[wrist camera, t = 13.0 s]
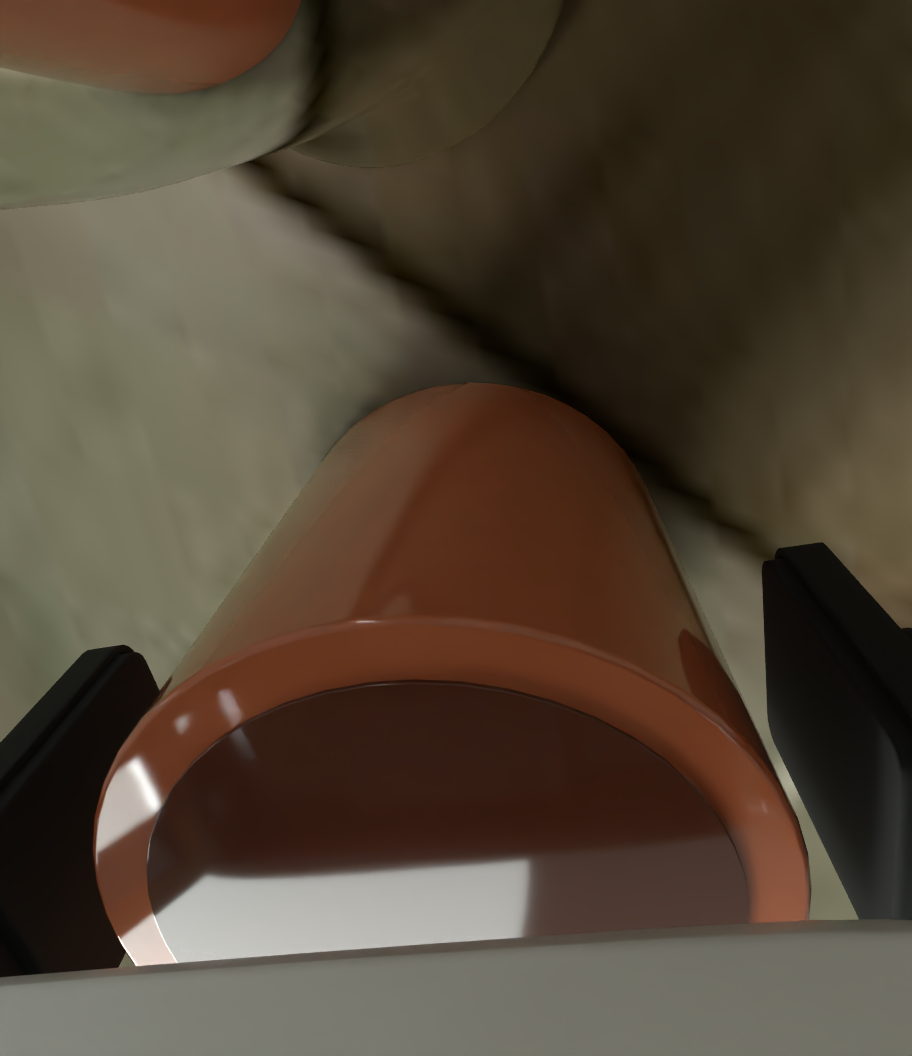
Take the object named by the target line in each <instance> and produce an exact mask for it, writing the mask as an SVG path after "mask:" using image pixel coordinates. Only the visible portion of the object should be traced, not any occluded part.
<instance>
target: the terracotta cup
mask: <svg viewBox="0 0 912 1056" xmlns="http://www.w3.org/2000/svg"><path fill="white" fill-rule="evenodd" d="M92 851H93V859H94V868H95V876H96V883H97V887H98V890H99V893H100V897H101V900H102V903H103V907H104V910H105V913H106V915H107V917H108V919H109V922H110V924H111V926H112V928H113V930H114V932H115V934H116V936H117V938H118V940H119V942H120V944H121V945H122V947H123V948H124V950H125V951H126V953H127V954H128V956H129V957H130V959H131V960H132V962H133V963H134V965H135V966H145V965H158V964H170V963H182V962H195V961H208V960H221V959H234V958H247V957H260V956H274V955H287V954H300V953H313V952H326V951H340V950H353V949H367V948H380V947H394V946H407V945H421V944H434V943H449V942H463V941H478V940H492V939H506V938H521V937H535V936H550V935H564V934H579V933H593V932H607V931H622V930H636V929H651V928H670V927H689V926H708V925H726V924H745V923H764V922H783V921H803V920H808V919H809V910H810V900H811V878H810V867H809V857H808V851H807V848H806V845H805V841H804V838H803V834H802V831H801V828H800V824H799V821H798V818H797V816H796V813H795V811H794V809H793V807H792V805H791V802H790V800H789V798H788V796H787V794H786V791H785V789H784V787H783V785H782V783H781V780H780V778H779V776H778V774H777V772H776V770H775V767H774V765H773V763H772V761H771V759H770V756H769V754H768V752H767V750H766V748H765V745H764V743H763V741H762V739H761V737H760V734H759V732H758V730H757V728H756V726H755V724H754V721H753V719H752V717H751V715H750V713H749V710H748V708H747V706H746V704H745V702H744V699H743V697H742V695H741V693H740V691H739V688H738V686H737V684H736V682H735V680H734V678H733V675H732V673H731V671H730V669H729V667H728V664H727V662H726V660H725V658H724V656H723V653H722V651H721V649H720V647H719V645H718V642H717V640H716V638H715V636H714V634H713V632H712V629H711V627H710V625H709V623H708V621H707V618H706V616H705V614H704V612H703V610H702V607H701V605H700V603H699V601H698V599H697V596H696V594H695V592H694V590H693V588H692V585H691V583H690V581H689V579H688V577H687V575H686V572H685V570H684V568H683V566H682V564H681V561H680V559H679V557H678V555H677V553H676V550H675V548H674V546H673V544H672V542H671V539H670V537H669V535H668V533H667V531H666V529H665V526H664V524H663V522H662V520H661V518H660V515H659V513H658V511H657V509H656V507H655V504H654V502H653V500H652V498H651V496H650V493H649V491H648V489H647V487H646V485H645V483H644V481H643V479H642V477H641V475H640V473H639V471H638V470H637V468H636V467H635V465H634V464H633V462H632V461H631V460H630V458H629V457H628V455H627V454H626V452H625V451H624V450H623V449H622V448H621V447H620V446H619V445H618V444H617V443H616V441H615V440H614V439H613V438H612V437H611V436H610V435H609V434H608V433H607V432H606V431H604V430H603V429H602V428H601V427H599V426H598V425H597V424H596V423H595V422H593V421H592V420H591V419H590V418H588V417H587V416H585V415H583V414H582V413H580V412H578V411H577V410H575V409H573V408H572V407H570V406H568V405H567V404H564V403H562V402H560V401H557V400H555V399H553V398H551V397H548V396H546V395H544V394H540V393H537V392H534V391H530V390H527V389H523V388H520V387H514V386H508V385H501V384H494V383H458V384H449V385H441V386H436V387H432V388H428V389H424V390H420V391H416V392H413V393H411V394H408V395H405V396H403V397H400V398H398V399H395V400H393V401H391V402H389V403H387V404H385V405H384V406H382V407H380V408H378V409H376V410H375V411H373V412H371V413H370V414H368V415H367V416H366V417H364V418H363V419H362V420H360V421H359V422H358V423H356V424H355V425H354V426H352V427H351V428H350V429H349V430H348V431H347V432H346V433H345V434H344V435H343V436H342V437H341V438H340V439H339V440H338V441H337V442H336V443H335V444H334V446H333V447H332V449H331V450H330V451H329V453H328V454H327V455H326V457H325V458H324V459H323V461H322V462H321V464H320V465H319V466H318V468H317V469H316V471H315V472H314V473H313V475H312V476H311V478H310V479H309V481H308V482H307V483H306V485H305V486H304V488H303V489H302V490H301V492H300V493H299V495H298V496H297V498H296V499H295V500H294V502H293V503H292V505H291V506H290V507H289V509H288V510H287V512H286V513H285V515H284V516H283V517H282V519H281V520H280V522H279V523H278V524H277V526H276V527H275V529H274V530H273V531H272V533H271V534H270V536H269V537H268V539H267V540H266V541H265V543H264V544H263V546H262V547H261V548H260V550H259V551H258V553H257V554H256V556H255V557H254V558H253V560H252V561H251V563H250V564H249V565H248V567H247V568H246V570H245V571H244V573H243V574H242V575H241V577H240V578H239V580H238V581H237V582H236V584H235V585H234V587H233V588H232V589H231V591H230V592H229V594H228V595H227V597H226V598H225V599H224V601H223V602H222V604H221V605H220V606H219V608H218V609H217V611H216V612H215V614H214V615H213V616H212V618H211V619H210V621H209V622H208V623H207V625H206V626H205V628H204V629H203V631H202V632H201V633H200V635H199V636H198V638H197V639H196V640H195V642H194V643H193V645H192V646H191V647H190V649H189V650H188V652H187V653H186V655H185V656H184V657H183V659H182V660H181V662H180V663H179V664H178V666H177V667H176V669H175V670H174V672H173V673H172V674H171V676H170V677H169V679H168V680H167V681H166V683H165V684H164V686H163V687H162V688H161V690H160V691H159V693H158V694H157V696H156V697H155V698H154V700H153V701H152V703H151V704H150V705H149V707H148V708H147V710H146V711H145V713H144V714H143V715H142V717H141V718H140V720H139V721H138V722H137V724H136V725H135V727H134V728H133V730H132V731H131V732H130V734H129V735H128V737H127V738H126V739H125V741H124V742H123V744H122V745H121V746H120V748H119V750H118V752H117V754H116V756H115V758H114V760H113V762H112V764H111V766H110V768H109V771H108V773H107V775H106V777H105V779H104V782H103V785H102V789H101V793H100V797H99V800H98V804H97V808H96V812H95V819H94V834H93V849H92Z"/></svg>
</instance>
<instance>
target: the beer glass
mask: <svg viewBox="0 0 912 1056" xmlns="http://www.w3.org/2000/svg"><path fill="white" fill-rule="evenodd" d="M563 2H564V0H0V210H5V209H15V208H26V207H37V206H48V205H59V204H70V203H78V202H85V201H93V200H101V199H108V198H113V197H119V196H124V195H130V194H135V193H141V192H145V191H149V190H153V189H156V188H160V187H164V186H168V185H172V184H176V183H179V182H183V181H186V180H189V179H192V178H196V177H199V176H202V175H205V174H209V173H212V172H215V171H218V170H221V169H225V168H228V167H231V166H234V165H238V164H241V163H244V162H247V161H251V160H254V159H257V158H260V157H264V156H267V155H270V154H273V153H276V152H279V151H282V150H286V149H289V148H290V149H292V150H294V151H297V152H299V153H301V154H304V155H306V156H309V157H312V158H315V159H318V160H321V161H324V162H328V163H332V164H337V165H342V166H348V167H358V168H384V167H393V166H400V165H405V164H410V163H414V162H417V161H421V160H424V159H427V158H429V157H432V156H435V155H437V154H439V153H442V152H444V151H446V150H448V149H450V148H452V147H454V146H455V145H457V144H459V143H461V142H462V141H464V140H465V139H467V138H469V137H470V136H471V135H473V134H474V133H476V132H477V131H478V130H479V129H481V128H482V127H483V126H485V125H486V124H487V123H488V122H489V121H490V120H491V119H493V118H494V117H495V116H496V115H497V114H498V113H499V112H500V111H501V110H502V109H503V108H504V107H505V106H506V105H507V103H508V102H509V101H510V100H511V99H512V98H513V96H514V95H515V94H516V93H517V91H518V90H519V89H520V88H521V86H522V85H523V83H524V82H525V81H526V79H527V78H528V76H529V75H530V73H531V72H532V70H533V69H534V67H535V65H536V64H537V62H538V60H539V58H540V57H541V55H542V53H543V51H544V49H545V47H546V45H547V43H548V41H549V39H550V37H551V34H552V32H553V30H554V27H555V25H556V22H557V20H558V17H559V14H560V11H561V8H562V5H563Z"/></svg>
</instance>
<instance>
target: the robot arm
mask: <svg viewBox="0 0 912 1056" xmlns="http://www.w3.org/2000/svg"><path fill="white" fill-rule="evenodd" d="M762 584H763V610H764V636H765V663H766V689H767V714H768V722H769V727H770V731H771V735H772V738H773V741H774V743H775V745H776V747H777V749H778V751H779V753H780V756H781V758H782V760H783V762H784V764H785V766H786V768H787V770H788V772H789V774H790V776H791V778H792V781H793V783H794V785H795V787H796V789H797V791H798V793H799V795H800V797H801V799H802V801H803V803H804V805H805V808H806V810H807V812H808V814H809V816H810V818H811V820H812V822H813V824H814V826H815V828H816V830H817V832H818V835H819V837H820V839H821V841H822V843H823V845H824V847H825V849H826V851H827V853H828V855H829V857H830V859H831V862H832V864H833V866H834V868H835V870H836V872H837V874H838V876H839V878H840V880H841V882H842V884H843V887H844V889H845V891H846V893H847V895H848V897H849V899H850V901H851V903H852V905H853V907H854V909H855V911H856V914H857V916H858V918H859V920H803V921H783V922H764V923H745V924H726V925H708V926H689V927H670V928H651V929H636V930H622V931H607V932H593V933H579V934H564V935H550V936H535V937H521V938H506V939H492V940H478V941H463V942H449V943H434V944H421V945H407V946H394V947H380V948H367V949H353V950H340V951H326V952H313V953H300V954H287V955H274V956H260V957H247V958H234V959H221V960H208V961H195V962H182V963H170V964H158V965H145V966H133V967H121V968H118V967H119V965H120V963H121V961H122V959H123V957H124V955H125V953H126V951H125V950H124V948H123V947H122V945H121V944H120V942H119V940H118V938H117V936H116V934H115V932H114V930H113V928H112V926H111V924H110V922H109V919H108V917H107V915H106V913H105V910H104V907H103V903H102V900H101V897H100V893H99V890H98V887H97V883H96V876H95V868H94V859H93V851H92V849H93V834H94V819H95V812H96V808H97V804H98V800H99V797H100V793H101V789H102V785H103V782H104V779H105V777H106V775H107V773H108V771H109V768H110V766H111V764H112V762H113V760H114V758H115V756H116V754H117V752H118V750H119V748H120V746H121V745H122V744H123V742H124V741H125V739H126V738H127V737H128V735H129V734H130V732H131V731H132V730H133V728H134V727H135V725H136V724H137V722H138V721H139V720H140V718H141V717H142V715H143V714H144V713H145V711H146V710H147V708H148V707H149V705H150V704H151V703H152V701H153V700H154V698H155V697H156V696H157V694H158V693H159V689H158V686H157V684H156V682H155V680H154V678H153V675H152V673H151V671H150V669H149V667H148V665H147V662H146V660H145V659H144V657H143V656H142V655H141V654H140V653H137V652H134V651H133V650H132V649H131V648H130V647H129V646H126V645H119V646H112V647H105V648H98V649H92V650H87V651H86V652H84V653H83V654H82V655H81V656H80V657H79V658H78V659H77V660H76V661H75V663H74V664H73V665H72V666H71V667H70V668H69V669H68V670H67V671H66V672H65V673H64V674H63V676H62V677H61V678H60V679H59V680H58V681H57V682H56V683H55V684H54V685H53V686H52V687H51V689H50V690H49V691H48V692H47V693H46V694H45V695H44V696H43V697H42V698H41V699H40V700H39V701H38V703H37V704H36V705H35V706H34V707H33V708H32V709H31V710H30V711H29V712H28V713H27V714H26V716H25V717H24V718H23V719H22V720H21V721H20V722H19V723H18V724H17V725H16V726H15V727H14V729H13V730H12V731H11V732H10V733H9V734H8V735H7V736H6V737H5V738H4V739H3V740H2V742H1V743H0V1056H912V628H902V629H901V628H900V627H899V626H898V625H897V624H896V623H895V622H894V621H893V619H892V618H891V617H890V616H889V615H888V614H887V613H886V612H885V610H884V609H883V608H882V607H881V606H880V605H879V604H878V603H877V602H876V600H875V599H874V598H873V597H872V596H871V595H870V594H869V593H868V592H867V590H866V589H865V588H864V587H863V586H862V585H861V584H860V583H859V581H858V580H857V579H856V578H855V577H854V576H853V575H852V574H851V573H850V571H849V570H848V569H847V568H846V567H845V566H844V565H843V564H842V562H841V561H840V560H839V559H838V558H837V557H836V556H835V555H834V554H833V552H832V551H831V550H830V549H829V548H828V547H827V546H826V545H825V544H824V543H813V544H806V545H799V546H792V547H786V548H779V549H778V550H777V551H776V554H775V560H769V561H764V563H763V566H762Z"/></svg>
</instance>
